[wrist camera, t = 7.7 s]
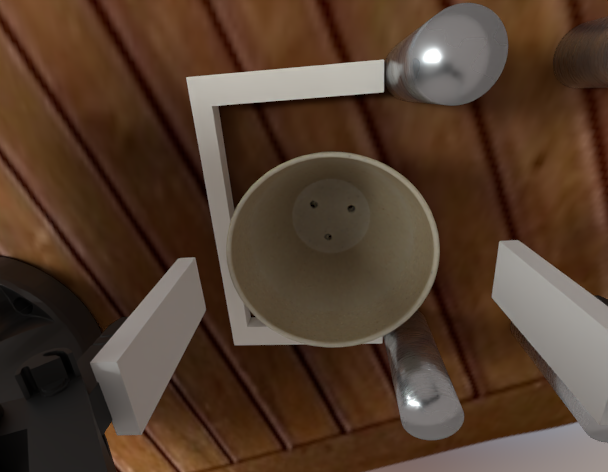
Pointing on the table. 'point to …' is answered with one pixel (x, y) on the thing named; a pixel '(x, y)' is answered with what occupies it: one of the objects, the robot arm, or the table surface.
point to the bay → (209, 134)
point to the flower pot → (332, 249)
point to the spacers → (456, 91)
